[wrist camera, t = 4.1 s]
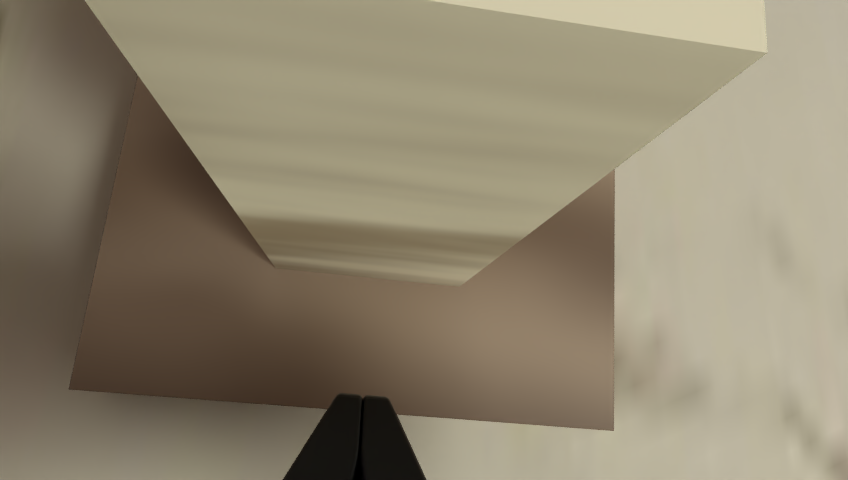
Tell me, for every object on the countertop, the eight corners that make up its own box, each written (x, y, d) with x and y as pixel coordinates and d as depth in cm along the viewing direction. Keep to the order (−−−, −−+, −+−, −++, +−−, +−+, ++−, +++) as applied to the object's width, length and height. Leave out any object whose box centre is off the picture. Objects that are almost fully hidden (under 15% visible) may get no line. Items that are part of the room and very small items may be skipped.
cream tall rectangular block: (459, 286, 16) (767, 52, 4) (275, 268, 15) (41, -60, 4) (470, 120, 17) (735, -426, 5) (300, 97, 16) (182, -563, 5)
